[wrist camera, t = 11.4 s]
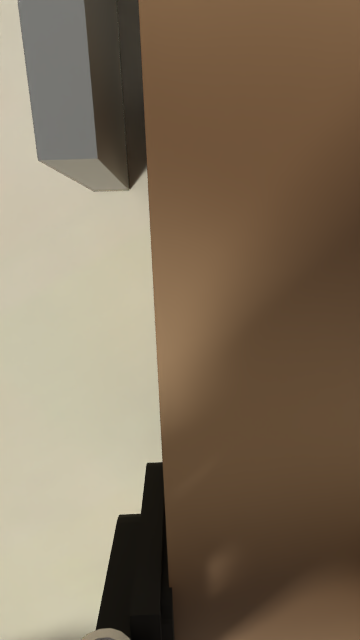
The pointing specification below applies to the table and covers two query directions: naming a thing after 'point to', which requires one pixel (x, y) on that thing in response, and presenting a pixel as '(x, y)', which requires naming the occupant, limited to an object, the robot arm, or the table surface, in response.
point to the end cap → (76, 89)
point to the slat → (257, 310)
